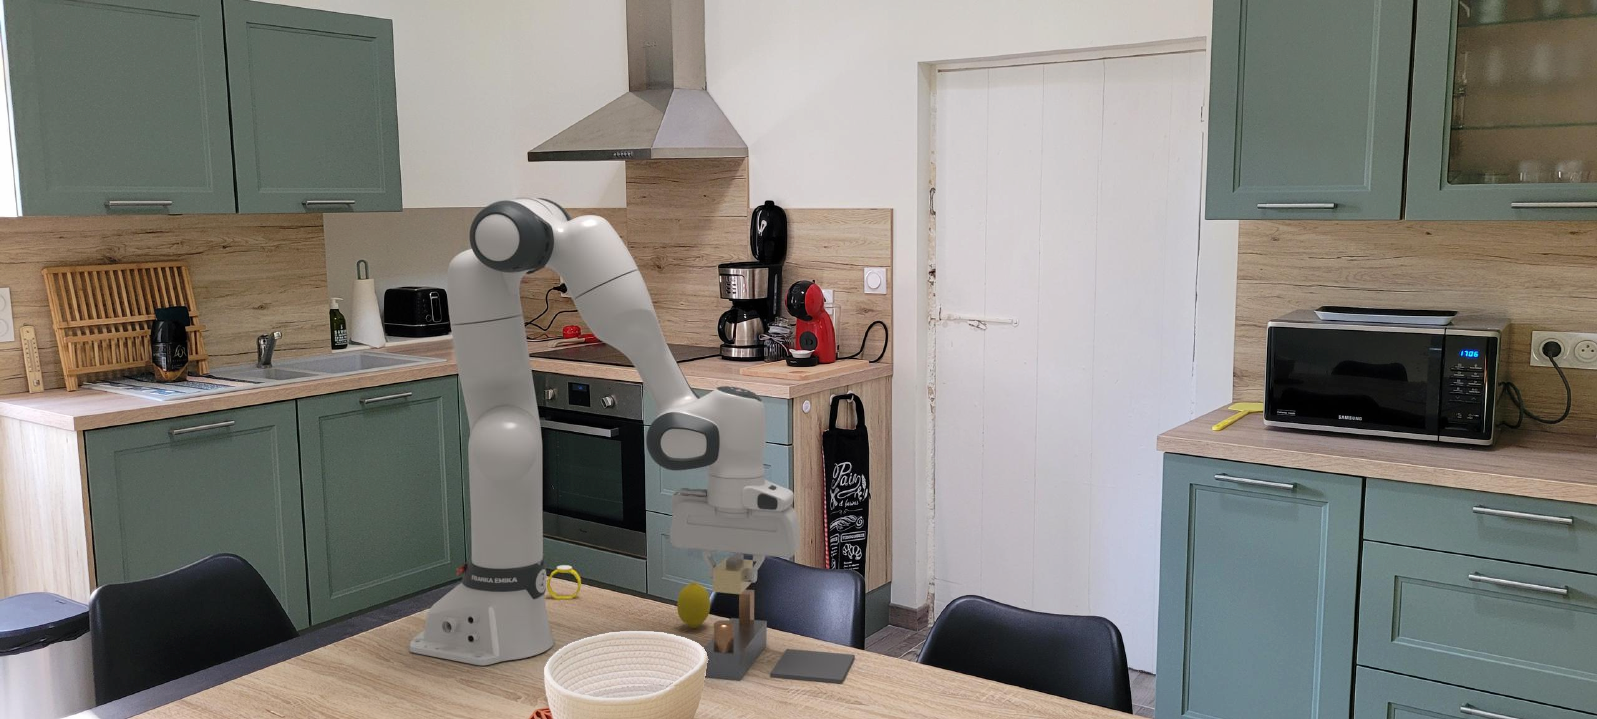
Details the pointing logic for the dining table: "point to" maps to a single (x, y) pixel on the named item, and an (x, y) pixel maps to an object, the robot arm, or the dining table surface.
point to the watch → (563, 570)
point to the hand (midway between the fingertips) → (733, 579)
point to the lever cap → (731, 574)
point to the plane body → (736, 642)
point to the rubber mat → (813, 666)
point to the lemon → (693, 604)
